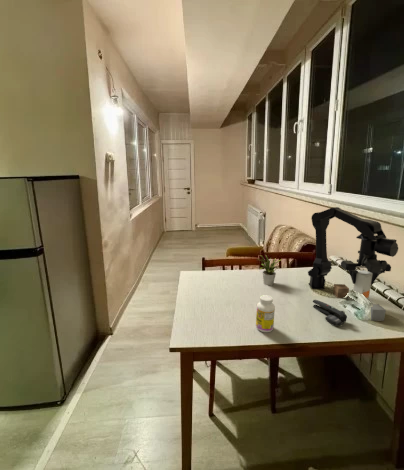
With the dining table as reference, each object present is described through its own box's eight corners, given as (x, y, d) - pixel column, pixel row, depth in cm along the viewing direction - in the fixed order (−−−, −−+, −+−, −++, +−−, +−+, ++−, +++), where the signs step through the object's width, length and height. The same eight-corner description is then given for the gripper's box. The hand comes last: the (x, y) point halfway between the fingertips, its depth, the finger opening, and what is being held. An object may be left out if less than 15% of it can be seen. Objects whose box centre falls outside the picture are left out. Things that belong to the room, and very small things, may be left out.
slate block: (371, 320, 108) (372, 309, 107) (364, 314, 113) (366, 303, 112) (383, 321, 108) (385, 309, 106) (376, 314, 112) (378, 303, 111)
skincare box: (361, 301, 116) (364, 275, 113) (351, 297, 119) (355, 272, 117) (369, 298, 118) (373, 272, 116) (360, 294, 122) (363, 269, 119)
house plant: (247, 282, 145) (248, 254, 142) (262, 276, 154) (263, 249, 151) (269, 290, 135) (271, 260, 131) (284, 283, 144) (286, 254, 140)
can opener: (350, 326, 104) (352, 313, 103) (335, 329, 102) (337, 315, 101) (320, 305, 121) (321, 294, 119) (306, 307, 119) (308, 295, 118)
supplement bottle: (253, 323, 105) (255, 294, 102) (269, 322, 106) (271, 293, 103) (258, 333, 99) (260, 302, 96) (275, 332, 99) (278, 301, 96)
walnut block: (337, 297, 128) (338, 288, 126) (332, 293, 132) (334, 284, 131) (347, 298, 127) (349, 288, 126) (343, 293, 132) (344, 284, 131)
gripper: (354, 255, 107) (349, 291, 110) (402, 256, 106) (396, 292, 109) (342, 247, 118) (337, 280, 121) (385, 248, 116) (380, 281, 120)
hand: (362, 284), depth 117 cm, fingers closed on skincare box, 7 cm apart
